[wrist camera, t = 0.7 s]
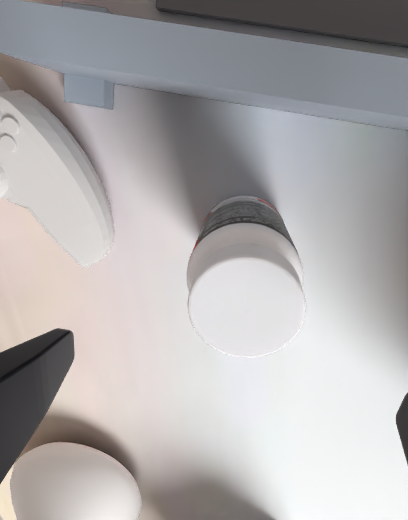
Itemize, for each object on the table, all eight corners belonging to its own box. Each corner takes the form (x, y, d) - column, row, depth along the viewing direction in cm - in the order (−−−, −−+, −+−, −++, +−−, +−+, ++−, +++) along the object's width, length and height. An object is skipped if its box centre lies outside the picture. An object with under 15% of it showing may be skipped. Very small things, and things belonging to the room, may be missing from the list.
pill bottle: (191, 208, 18) (153, 266, 10) (273, 182, 17) (297, 225, 9) (217, 280, 20) (200, 377, 12) (293, 260, 18) (329, 352, 11)
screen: (505, 75, 14) (653, 43, 9) (463, 167, 16) (570, 183, 11) (75, 10, 15) (-11, -51, 10) (76, 103, 17) (3, 91, 11)
